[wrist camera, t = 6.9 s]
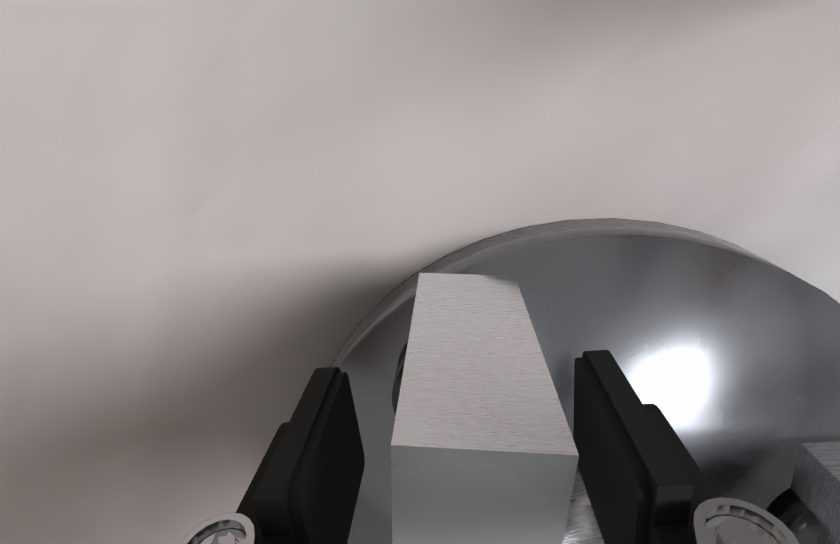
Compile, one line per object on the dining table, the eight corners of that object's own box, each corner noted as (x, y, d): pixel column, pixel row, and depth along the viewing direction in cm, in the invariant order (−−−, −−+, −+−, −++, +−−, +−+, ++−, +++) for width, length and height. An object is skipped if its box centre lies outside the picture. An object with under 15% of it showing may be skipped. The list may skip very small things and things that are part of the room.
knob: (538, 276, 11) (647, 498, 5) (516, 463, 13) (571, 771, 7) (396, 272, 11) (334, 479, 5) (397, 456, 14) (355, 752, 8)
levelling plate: (933, 526, 16) (1153, 722, 11) (495, 679, 21) (510, 862, 16) (709, 73, 11) (923, 56, 6) (209, 414, 16) (100, 558, 11)
